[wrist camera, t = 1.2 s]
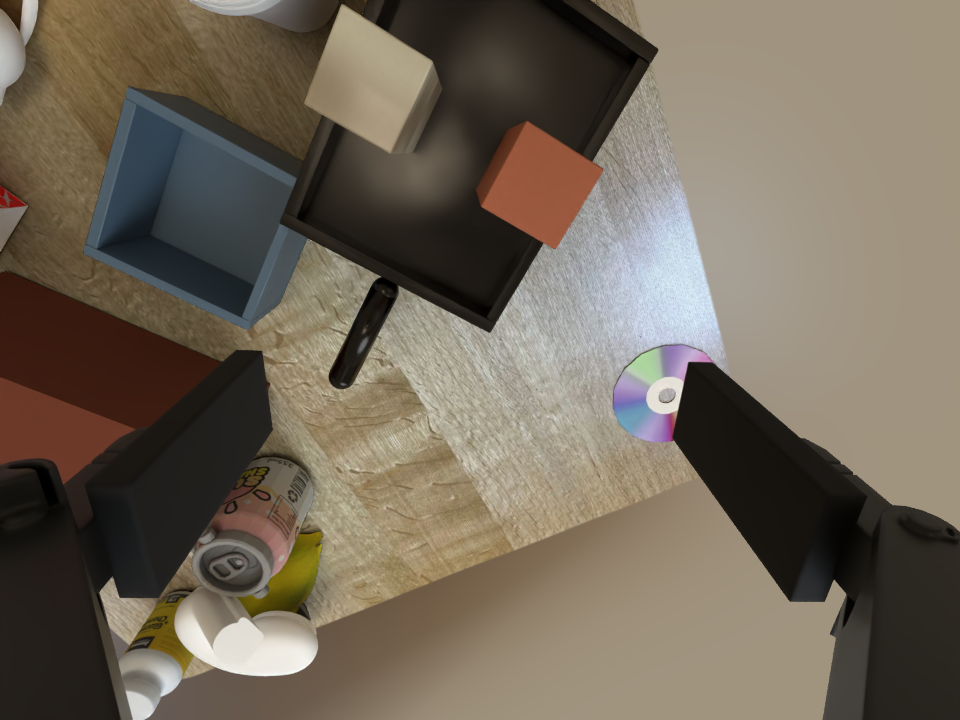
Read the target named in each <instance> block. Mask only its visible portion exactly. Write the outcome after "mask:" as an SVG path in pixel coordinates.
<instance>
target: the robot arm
mask: <svg viewBox="0 0 960 720" xmlns="http://www.w3.org/2000/svg"><path fill="white" fill-rule="evenodd" d="M272 430H273V428H272V420H271V413H270V406H269V398H268V391H267V383H266V376H265V369H264V361H263V354H262V351H254V350H236V351H235V352H234V353H232V354H231V355H230V356H229V357H228V358H227V359H226V360H224V361H223V362H222V363H221V364H220V365H219V366H218V367H217V368H215V369H214V370H213V371H212V372H211V373H210V374H209V375H208V376H206V377H205V378H204V379H203V380H202V381H201V382H200V383H198V384H197V385H196V386H195V387H194V388H193V389H192V390H191V391H189V392H188V393H187V394H186V395H185V396H184V397H183V398H181V399H180V400H179V401H178V402H177V403H176V404H175V405H174V406H172V407H171V408H170V409H169V410H168V411H167V412H166V413H165V414H163V415H162V416H161V417H160V418H159V419H158V420H157V421H155V422H154V423H153V424H152V425H151V426H150V427H140V428H138V429H136V430H134V431H132V432H130V433H128V434H126V435H124V436H122V437H120V438H118V439H117V440H116V441H115V442H114V443H112V444H111V445H110V446H109V447H108V448H106V449H105V450H104V453H100V454H99V455H98V456H97V457H96V458H94V459H93V460H92V461H91V464H87V465H86V466H85V467H84V468H83V469H81V470H80V471H79V472H78V473H77V474H75V475H74V476H73V477H72V478H71V479H69V480H68V481H67V482H66V483H65V484H63V482H62V479H61V476H60V473H59V470H58V467H57V465H56V464H55V463H54V462H53V461H52V460H48V459H43V458H31V459H22V460H17V461H12V462H7V463H4V464H2V465H0V720H133V718H132V714H131V710H130V706H129V702H128V699H127V695H126V691H125V687H124V683H123V679H122V675H121V671H120V668H119V664H118V660H117V656H116V653H115V648H114V644H113V640H112V637H111V633H110V629H109V625H108V621H107V617H106V613H105V609H104V606H103V602H102V599H101V596H100V593H99V592H100V590H101V589H102V588H103V587H104V586H105V584H106V583H107V582H108V581H109V579H110V578H111V577H112V576H113V578H114V581H115V585H116V588H117V591H118V594H119V597H120V598H159V597H160V595H161V594H162V592H163V591H164V589H165V588H166V586H167V585H168V583H169V582H170V580H171V579H172V578H173V576H174V575H175V573H176V572H177V570H178V569H179V567H180V566H181V564H182V563H183V561H184V560H185V558H186V557H187V555H188V554H189V553H190V551H191V550H192V548H193V547H194V545H195V544H196V542H197V541H198V539H199V538H200V536H201V535H202V533H203V532H204V530H205V529H206V528H207V526H208V525H209V523H210V522H211V520H212V519H213V517H214V516H215V514H216V513H217V511H218V510H219V508H220V507H221V505H222V504H223V503H224V501H225V500H226V498H227V497H228V495H229V494H230V492H231V491H232V489H233V488H234V486H235V485H236V483H237V482H238V480H239V479H240V478H241V476H242V475H243V473H244V472H245V470H246V469H247V467H248V466H249V464H250V463H251V461H252V460H253V458H254V457H255V455H256V454H257V453H258V451H259V450H260V448H261V447H262V445H263V444H264V442H265V441H266V439H267V438H268V436H269V435H270V433H271V432H272ZM672 438H673V440H674V441H675V442H676V444H677V445H678V447H679V448H680V449H681V451H682V452H683V454H684V455H685V456H686V458H687V459H688V461H689V462H690V463H691V465H692V466H693V468H694V469H695V470H696V472H697V473H698V474H699V476H700V477H701V479H702V480H703V481H704V483H705V484H706V486H707V487H708V488H709V490H710V491H711V493H712V494H713V495H714V497H715V498H716V500H717V501H718V502H719V504H720V505H721V506H722V508H723V509H724V511H725V512H726V513H727V515H728V516H729V518H730V519H731V520H732V522H733V523H734V525H735V526H736V527H737V529H738V530H739V532H741V534H742V536H743V537H744V539H745V540H746V541H747V543H748V544H749V545H750V547H751V548H752V550H753V551H754V552H755V554H756V555H757V557H758V558H759V559H760V561H761V562H762V563H763V565H764V566H765V568H766V569H767V570H768V572H769V573H770V575H771V576H772V577H773V579H774V580H775V581H776V583H777V584H778V586H779V587H780V589H781V590H782V591H783V593H784V594H785V596H786V597H787V598H788V600H789V601H790V602H825V600H826V597H827V595H828V592H829V590H830V587H831V585H832V582H833V580H835V581H836V582H837V583H838V584H839V586H840V587H841V588H842V589H843V590H844V592H845V593H846V594H847V595H846V597H845V599H844V602H843V604H842V607H841V609H840V611H839V614H838V616H837V618H836V621H835V623H834V625H833V628H832V630H831V632H830V635H832V636H835V637H836V642H835V648H834V653H833V660H832V666H831V672H830V679H829V684H828V690H827V696H826V702H825V709H824V715H823V720H960V532H959V531H958V530H957V529H956V528H955V527H954V526H952V525H951V524H949V523H947V522H946V521H944V520H942V519H941V518H939V517H937V516H934V515H932V514H929V513H927V512H925V511H922V510H919V509H915V508H911V507H907V506H896V505H892V504H890V503H889V502H888V501H886V499H884V498H883V497H882V496H881V495H879V494H878V493H877V492H876V491H875V490H873V489H872V488H871V487H870V486H869V485H868V484H866V483H865V482H864V481H863V480H862V479H860V478H859V477H858V476H857V475H853V472H852V471H851V470H850V469H848V468H847V467H846V466H845V465H842V464H841V463H840V461H839V460H838V459H836V458H835V457H834V456H833V455H832V454H830V453H829V452H828V451H827V450H825V449H823V448H821V447H820V446H818V445H816V444H814V443H812V442H810V441H809V440H807V439H804V438H800V437H798V436H797V435H796V434H795V433H794V432H793V431H791V430H790V429H789V428H788V427H787V426H786V425H785V424H783V423H782V422H781V421H780V420H779V419H778V418H776V417H775V416H774V415H773V414H772V413H771V412H769V411H768V410H767V409H766V408H765V407H764V406H762V405H761V404H760V403H759V402H758V401H757V400H755V399H754V398H753V397H752V396H751V395H750V394H749V393H747V392H746V391H745V390H744V389H743V388H742V387H740V386H739V385H738V384H737V383H736V382H735V381H733V380H732V379H731V378H730V377H729V376H728V375H727V374H725V373H724V372H723V371H722V370H721V369H720V368H718V367H717V366H716V365H715V364H714V363H713V362H688V365H687V370H686V375H685V379H684V384H683V389H682V394H681V398H680V403H679V408H678V412H677V417H676V422H675V426H674V431H673V436H672Z"/></svg>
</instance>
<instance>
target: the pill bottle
mask: <svg viewBox="0 0 960 720" xmlns="http://www.w3.org/2000/svg"><path fill="white" fill-rule="evenodd" d="M191 593H192V592H186V591H179V592H173V593H170V594H168V595H166V596H165V597H163V598H162V599H161V600H160V602H159V603H158V604H157V606H156V607H155V609H154V610H153V612H152V613H151V615H150V616H149V618H148V619H147V621H146V622H145V624H144V625H143V627H142V628H141V630H140V631H139V632H138V634H137V635H136V637H135V638H134V640H133V641H132V643H131V644H130V646H129V647H128V649H127V650H126V652H125V653H124V655H123V656H122V658H121V659H120V661H119V662H118V664H119V668H120V671H121V675H122V679H123V683H124V687H125V691H126V695H127V699H128V702H129V706H130V710H131V714H132V718H133V720H144V719H146V718H148V717H149V716H151V715H152V713H153V711H154V710H155V708H156V706H157V705H158V703H159V701H160V698H161V696H164V695H166V694H168V693H170V692H171V691H172V690H173V689H174V688H175V687H176V686H177V685H178V684H179V682H180V681H181V679H182V677H183V675H184V673H185V672H186V670H187V668H188V666H189V664H190V662H191V660H192V658H193V656H194V655H193V654H192V653H191V652H190V651H189V650H188V649H187V648H186V647H185V646H184V645H183V644H182V642H181V641H180V639H179V638H178V636H177V633H176V631H175V626H174V619H175V614H176V611H177V608H178V607H179V605H180V603H181V602H182V601H183V600H184V599H185V598H186V597H187V596H189V595H190V594H191Z"/></svg>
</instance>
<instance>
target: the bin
mask: <svg viewBox="0 0 960 720" xmlns="http://www.w3.org/2000/svg"><path fill="white" fill-rule="evenodd" d="M302 164H303V161H301V160H299V159H297V158H295V157H293V156H292V155H290V154H288V153H286V152H284V151H283V150H281V149H279V148H277V147H275V146H274V145H272V144H270V143H268V142H266V141H265V140H263V139H261V138H259V137H257V136H256V135H254V134H252V133H250V132H248V131H246V130H245V129H243V128H241V127H239V126H237V125H236V124H234V123H232V122H230V121H228V120H227V119H225V118H223V117H221V116H219V115H218V114H216V113H214V112H212V111H210V110H209V109H207V108H205V107H203V106H201V105H199V104H198V103H196V102H194V101H192V100H190V99H189V98H187V97H183V96H177V95H172V94H167V93H162V92H156V91H151V90H146V89H140V88H135V87H130V86H128V87H127V91H126V95H125V99H124V103H123V107H122V110H121V114H120V118H119V122H118V125H117V129H116V133H115V136H114V140H113V144H112V148H111V151H110V155H109V159H108V163H107V166H106V170H105V174H104V177H103V181H102V185H101V189H100V192H99V196H98V200H97V203H96V207H95V211H94V215H93V218H92V222H91V226H90V229H89V233H88V237H87V241H86V244H85V248H84V251H83V254H85V255H88V256H90V257H92V258H94V259H96V260H98V261H100V262H103V263H105V264H107V265H109V266H111V267H113V268H115V269H118V270H120V271H122V272H124V273H126V274H128V275H130V276H133V277H135V278H137V279H139V280H141V281H143V282H145V283H148V284H150V285H152V286H154V287H156V288H158V289H160V290H162V291H165V292H167V293H169V294H171V295H173V296H175V297H177V298H180V299H182V300H184V301H186V302H188V303H190V304H192V305H195V306H197V307H199V308H201V309H203V310H205V311H207V312H210V313H212V314H214V315H216V316H218V317H220V318H222V319H225V320H227V321H229V322H231V323H233V324H235V325H237V326H239V327H242V328H244V329H246V330H248V329H249V328H251V327H252V326H253V325H254V324H255V323H257V322H258V321H259V320H260V319H261V318H263V317H264V316H265V315H266V314H267V313H269V312H270V311H271V310H272V309H273V308H275V307H276V306H277V305H278V304H279V303H280V301H281V299H282V297H283V294H284V292H285V290H286V287H287V285H288V283H289V280H290V278H291V275H292V273H293V271H294V268H295V266H296V264H297V261H298V259H299V257H300V254H301V252H302V250H303V247H304V245H305V243H306V240H307V238H306V237H304V236H302V235H301V234H299V233H297V232H295V231H293V230H291V229H289V228H287V227H285V226H283V225H281V224H280V223H279V222H280V219H281V217H282V214H283V212H284V209H285V207H286V204H287V202H288V199H289V197H290V194H291V192H292V189H293V187H294V184H295V182H296V179H297V177H298V174H299V172H300V169H301V167H302Z"/></svg>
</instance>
